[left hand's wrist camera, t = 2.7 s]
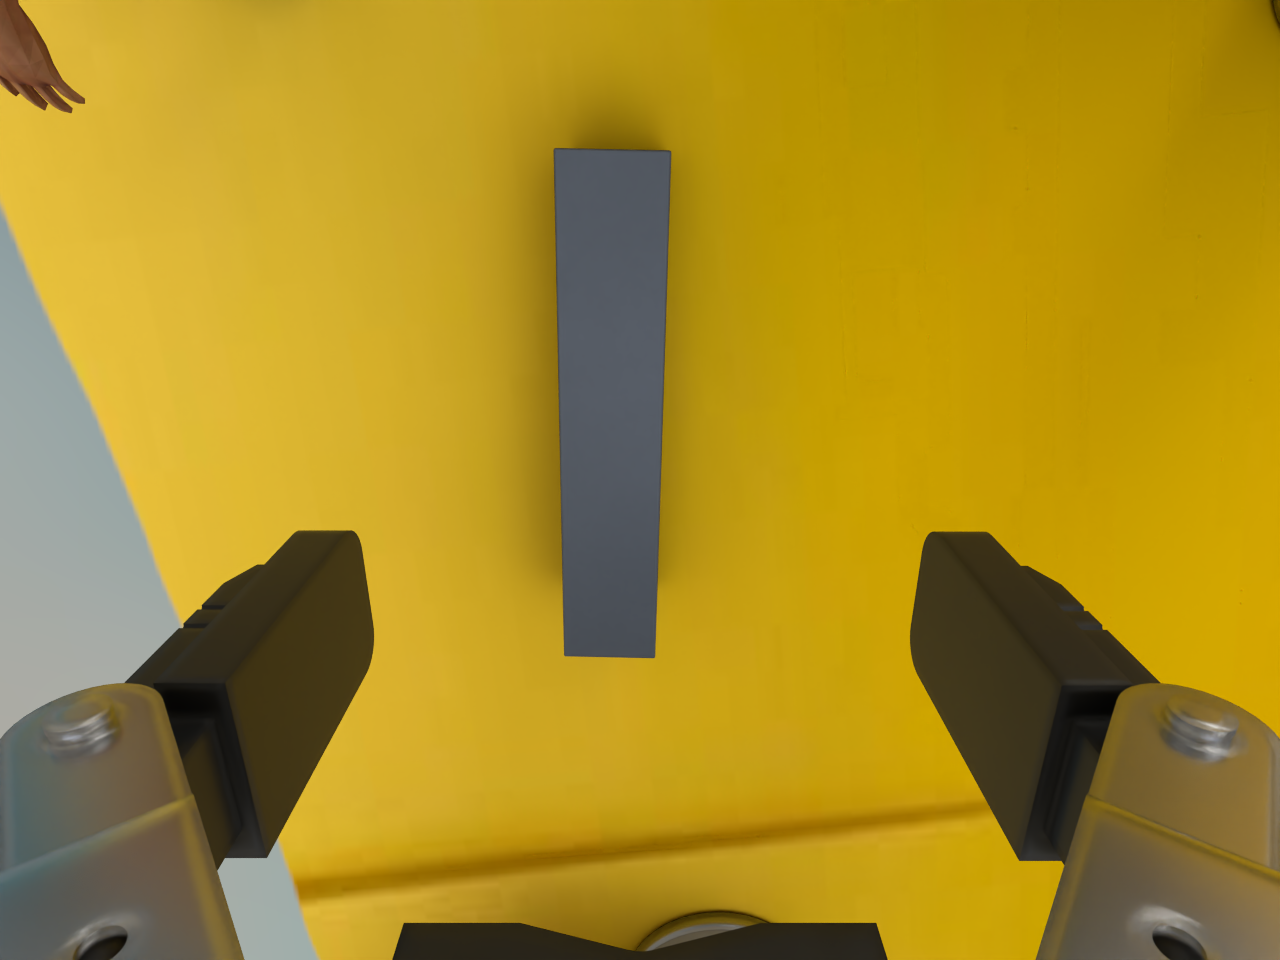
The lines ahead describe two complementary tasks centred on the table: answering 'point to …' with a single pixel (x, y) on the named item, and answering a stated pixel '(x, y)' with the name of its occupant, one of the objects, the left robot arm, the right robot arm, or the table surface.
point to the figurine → (29, 61)
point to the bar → (611, 392)
